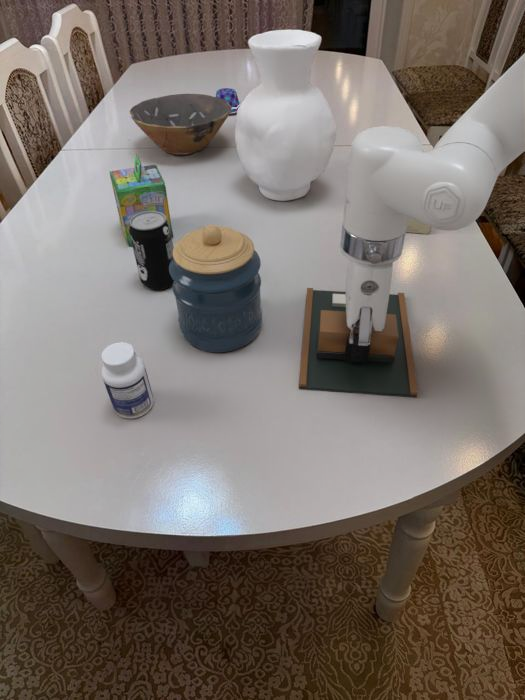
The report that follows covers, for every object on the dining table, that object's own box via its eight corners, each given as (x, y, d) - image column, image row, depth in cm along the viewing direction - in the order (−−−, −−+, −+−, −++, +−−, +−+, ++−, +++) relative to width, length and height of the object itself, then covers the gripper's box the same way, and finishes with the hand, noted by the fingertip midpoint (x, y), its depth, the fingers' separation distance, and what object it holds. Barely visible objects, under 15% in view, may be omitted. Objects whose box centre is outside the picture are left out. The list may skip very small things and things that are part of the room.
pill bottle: (119, 389, 69) (102, 337, 62) (157, 389, 69) (144, 337, 62) (109, 419, 65) (89, 368, 59) (149, 420, 65) (135, 368, 58)
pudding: (210, 117, 146) (208, 98, 142) (205, 104, 154) (203, 86, 151) (250, 114, 147) (249, 95, 144) (243, 101, 156) (242, 82, 152)
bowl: (251, 152, 127) (249, 111, 120) (164, 177, 117) (156, 134, 111) (202, 123, 142) (199, 86, 135) (122, 144, 133) (113, 104, 126)
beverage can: (133, 281, 88) (118, 220, 79) (162, 265, 91) (151, 205, 83) (157, 296, 84) (143, 234, 76) (186, 279, 88) (176, 218, 79)
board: (403, 297, 83) (404, 292, 82) (417, 397, 67) (418, 392, 66) (307, 292, 84) (307, 287, 84) (298, 388, 69) (298, 384, 68)
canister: (219, 291, 85) (209, 194, 73) (279, 321, 79) (279, 221, 67) (163, 330, 78) (141, 231, 66) (223, 367, 72) (212, 265, 60)
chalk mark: (353, 298, 82) (354, 294, 81) (353, 308, 80) (354, 304, 80) (332, 297, 82) (332, 293, 82) (332, 306, 80) (332, 302, 80)
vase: (279, 163, 122) (279, 19, 101) (348, 191, 110) (364, 35, 90) (222, 189, 112) (209, 36, 92) (291, 222, 101) (294, 56, 80)
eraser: (391, 339, 74) (397, 313, 70) (394, 363, 70) (400, 337, 67) (317, 334, 75) (319, 308, 71) (316, 357, 71) (318, 332, 68)
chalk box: (120, 225, 102) (103, 153, 92) (165, 217, 104) (152, 145, 94) (128, 248, 96) (110, 173, 85) (174, 238, 98) (162, 165, 87)
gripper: (411, 281, 53) (384, 393, 66) (397, 205, 66) (377, 311, 78) (341, 278, 54) (328, 389, 67) (340, 203, 66) (329, 308, 79)
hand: (355, 346), depth 72 cm, fingers closed on eraser, 5 cm apart
